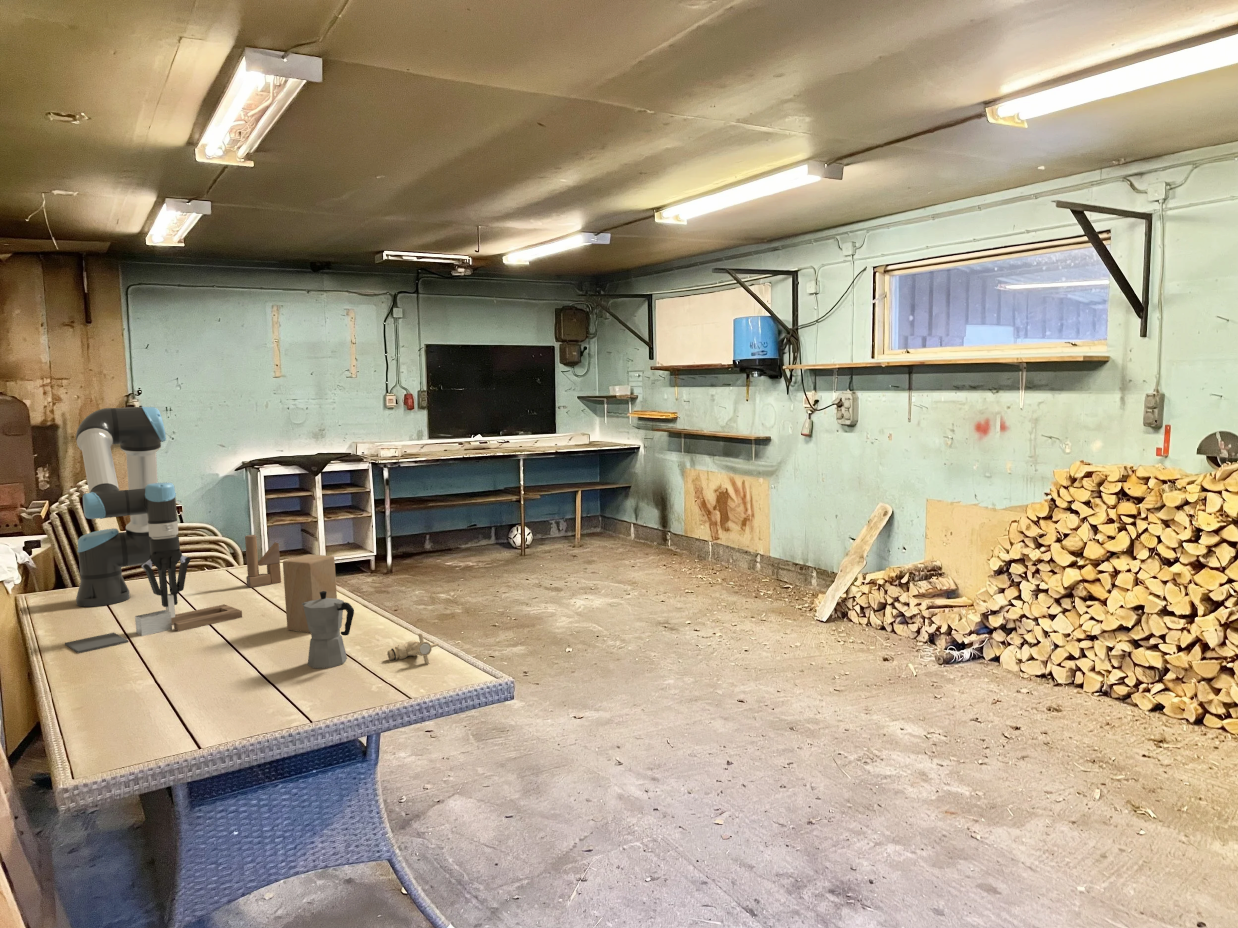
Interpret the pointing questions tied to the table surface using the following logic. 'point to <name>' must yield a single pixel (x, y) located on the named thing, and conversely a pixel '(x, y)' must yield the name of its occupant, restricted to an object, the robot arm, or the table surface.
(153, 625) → the aluminium block
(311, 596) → the wooden block
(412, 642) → the valve
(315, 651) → the coffeepot
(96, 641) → the rubber mat
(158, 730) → the table surface
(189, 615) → the slot board
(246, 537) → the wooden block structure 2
